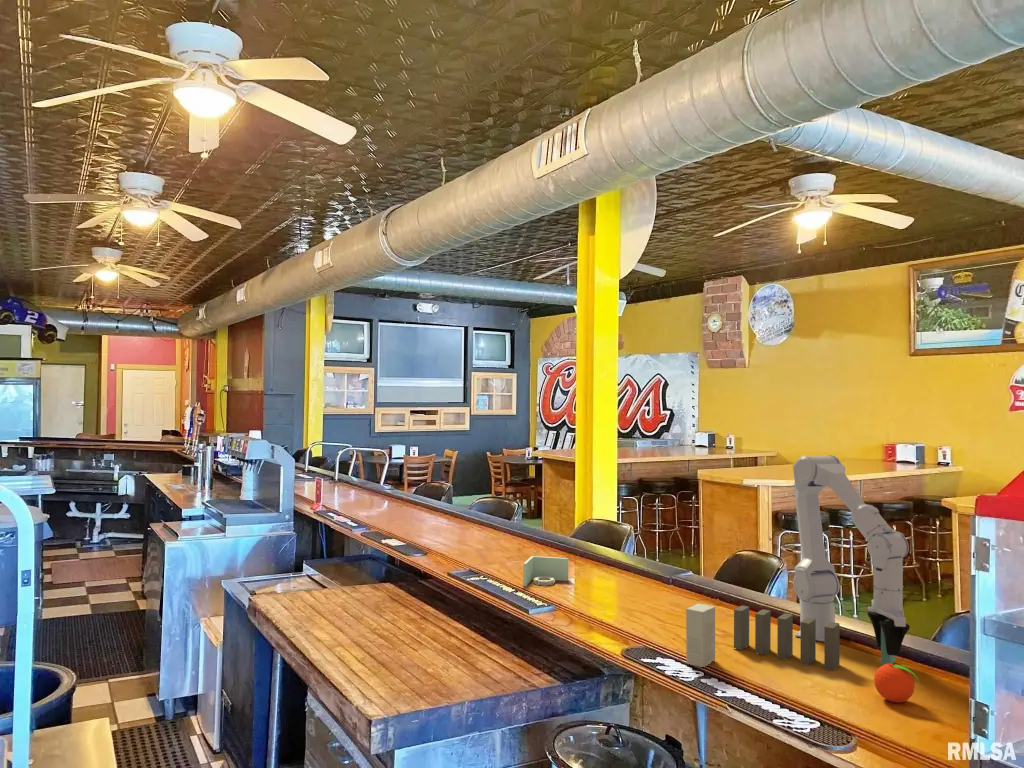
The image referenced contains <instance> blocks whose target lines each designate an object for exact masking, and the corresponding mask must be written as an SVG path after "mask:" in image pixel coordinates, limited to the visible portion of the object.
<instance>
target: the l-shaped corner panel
mask: <svg viewBox="0 0 1024 768" xmlns="http://www.w3.org/2000/svg"><path fill="white" fill-rule="evenodd" d="M522 565H523V566H522V567H523V571H522V574H523V575H522V577H523V579H522V586H523V587H527V586H528V585H529V584H530V583H531V582H532V581H531V580H533V585H537V586H539V585H541V586H543V587H548V585H549V586H553V584H554V583H555V584H556V581H569V557H557V556H556V557H555V556H552V557H551V556H538V555H537V556H536V555H531V556H530V557H528V559H527V560H526V561H524V563H523V564H522ZM555 584H554V585H555ZM545 585H546V586H545Z"/></svg>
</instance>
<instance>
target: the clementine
mask: <svg viewBox="0 0 1024 768" xmlns="http://www.w3.org/2000/svg"><path fill="white" fill-rule="evenodd" d="M875 671H876V672H875V673H874V678H873V682H874V683H873V684H874V687H875V689H876V691H877V692H878V694H879V695H880V696H881V697H882V698H884V699H885V700H886V701H888V702H891V703H903V702H906V701H908V700H909V699H910V698H912V696H913V694H914V692H915V680H914V678H913V676H914V677H915V678H916V679H917V680H918V683H919V684H921V681H920V680H919V678H918V676H917V675H916V674H915V673H914V672H913V671H912V670H911V669H909V668H908V667H905V666H903V665H899V664H896V663H894V664H885V665H883V666H881V665H880V667H878V668H877V670H875ZM912 675H913V676H912Z"/></svg>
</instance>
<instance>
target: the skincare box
mask: <svg viewBox="0 0 1024 768" xmlns="http://www.w3.org/2000/svg"><path fill="white" fill-rule="evenodd" d="M685 611H686V612H685V613H686V614H685V615H686V617H685V618H686V623H685V625H686V627H685V628H686V629H685V630H686V632H685V634H686V639H685V640H686V647H685V648H686V655H685V656H686V664H687V665H689V664H690V666H695V667H698V666H699V668H701V667H704V668H706V667H707V666H709V665H710V664H712V663H713V662H712V661H714V660H715V661H716V607H715V606H714V605H709V604H704V603H696V604H694V605H692V606H690V607H687V608H686V609H685ZM715 661H714V662H715ZM711 662H712V663H711ZM708 664H709V665H708ZM705 666H706V667H705Z"/></svg>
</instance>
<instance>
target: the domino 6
mask: <svg viewBox="0 0 1024 768" xmlns="http://www.w3.org/2000/svg"><path fill="white" fill-rule="evenodd" d="M885 621H889V620H887V619H886V620H885ZM895 663H896V655H888V654H887V650H886V644H885V637H884V633H883V630H882V627H881V646H880V667H881V666H883V665H885V664H895Z"/></svg>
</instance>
